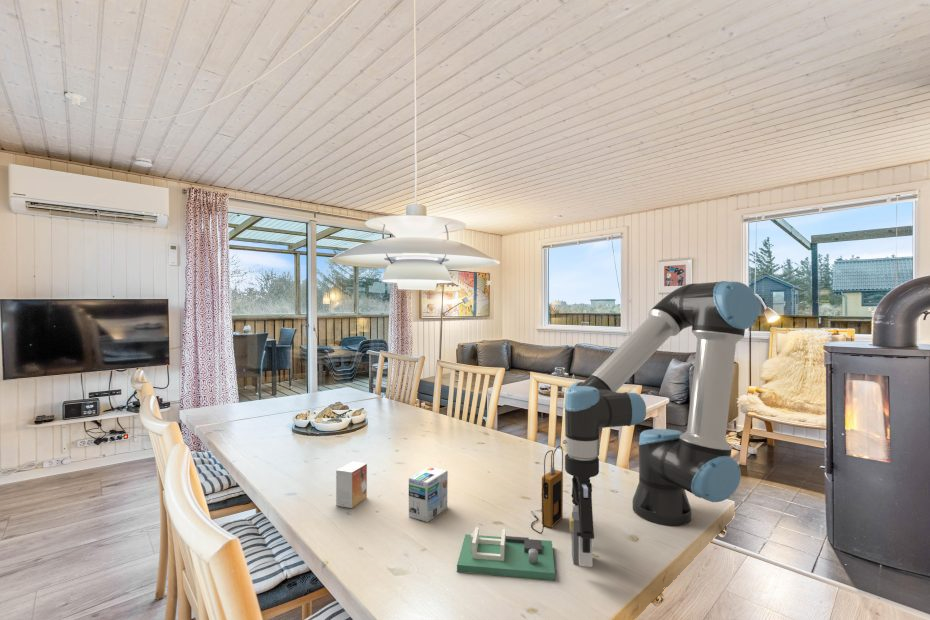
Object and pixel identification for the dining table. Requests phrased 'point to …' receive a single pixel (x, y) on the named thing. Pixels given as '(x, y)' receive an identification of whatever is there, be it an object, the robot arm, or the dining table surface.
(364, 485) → the small box
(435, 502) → the light bulb box
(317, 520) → the dining table surface
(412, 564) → the dining table surface
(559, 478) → the multimeter
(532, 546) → the board
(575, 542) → the plug
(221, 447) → the dining table surface
